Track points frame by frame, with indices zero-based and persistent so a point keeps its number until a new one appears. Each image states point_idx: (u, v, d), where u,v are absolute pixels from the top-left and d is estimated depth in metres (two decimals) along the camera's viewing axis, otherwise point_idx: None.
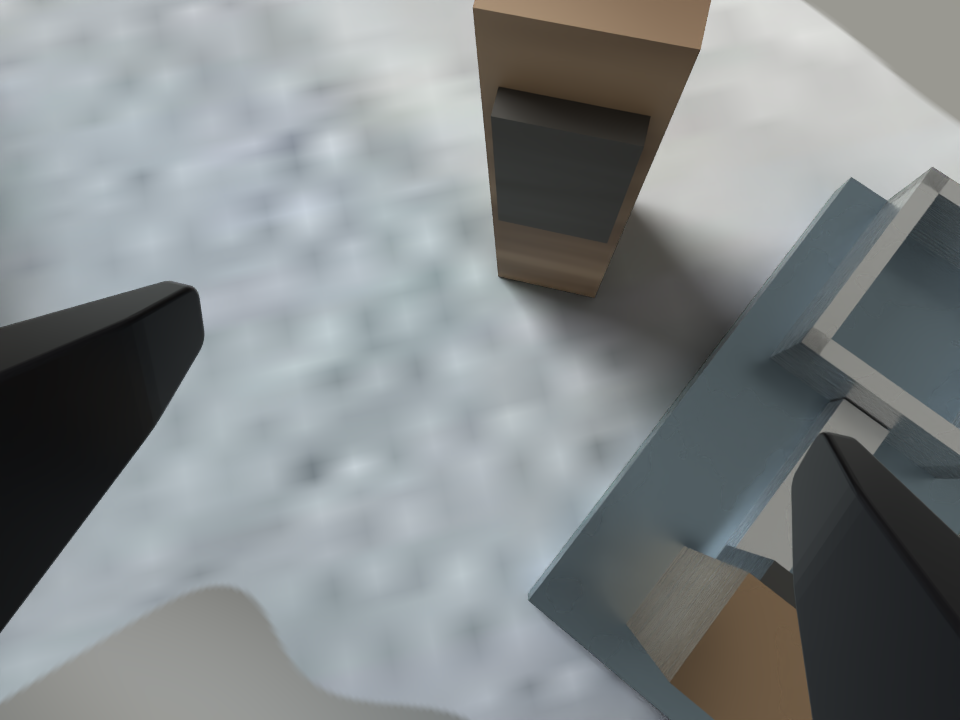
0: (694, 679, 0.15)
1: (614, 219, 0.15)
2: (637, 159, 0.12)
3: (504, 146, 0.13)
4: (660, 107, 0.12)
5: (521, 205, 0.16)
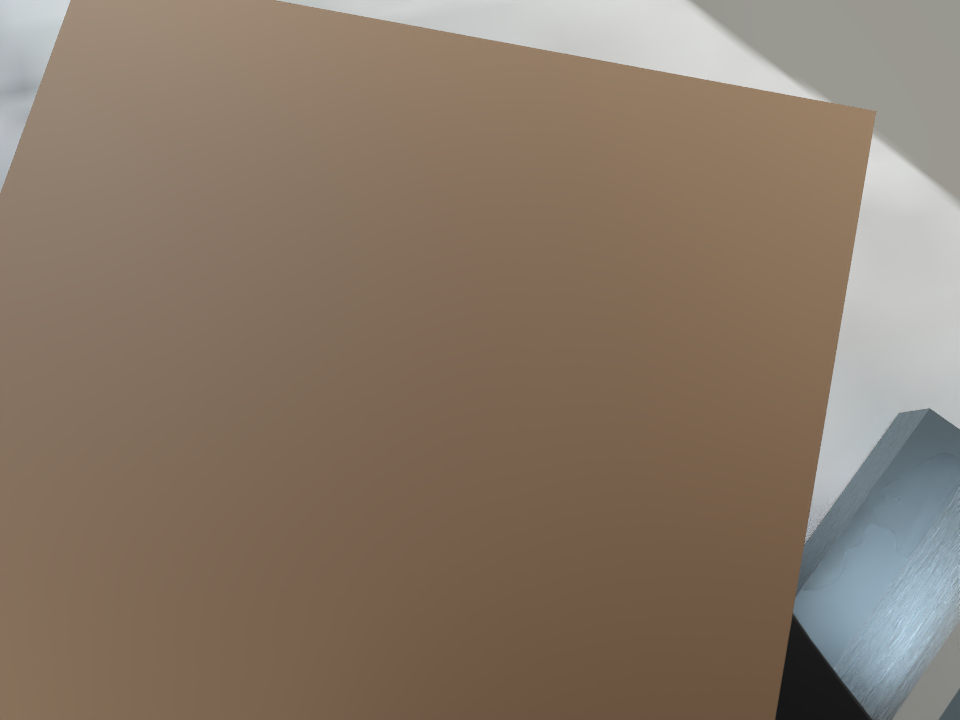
0: None
1: None
2: None
3: None
4: None
5: None
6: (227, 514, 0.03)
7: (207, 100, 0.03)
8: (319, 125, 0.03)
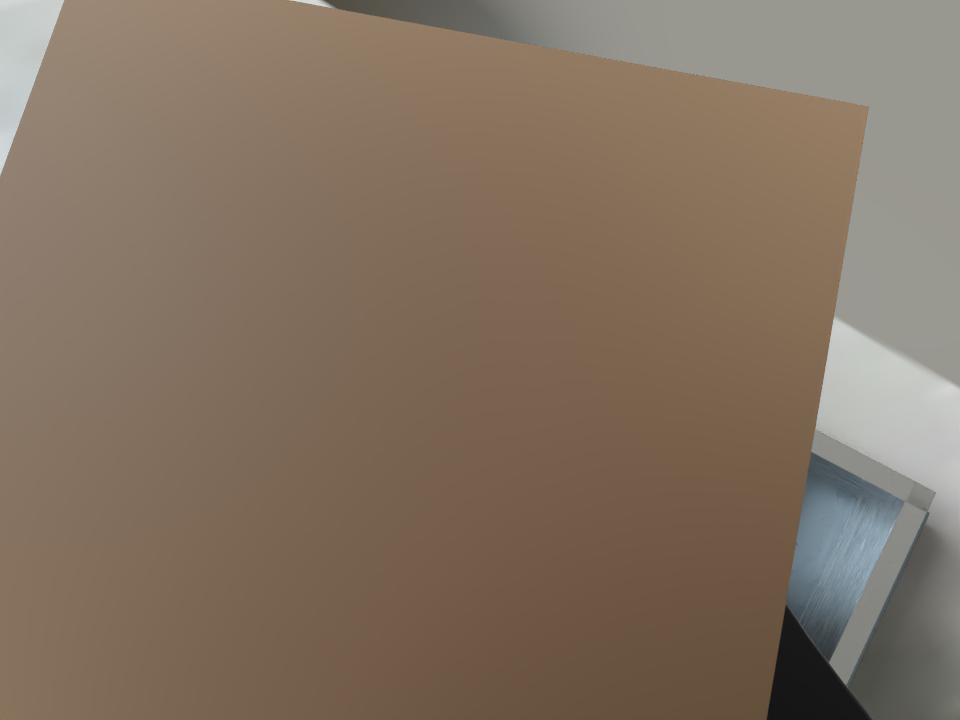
0: None
1: None
2: None
3: None
4: None
5: None
6: (219, 509, 0.03)
7: (201, 96, 0.03)
8: (313, 121, 0.03)
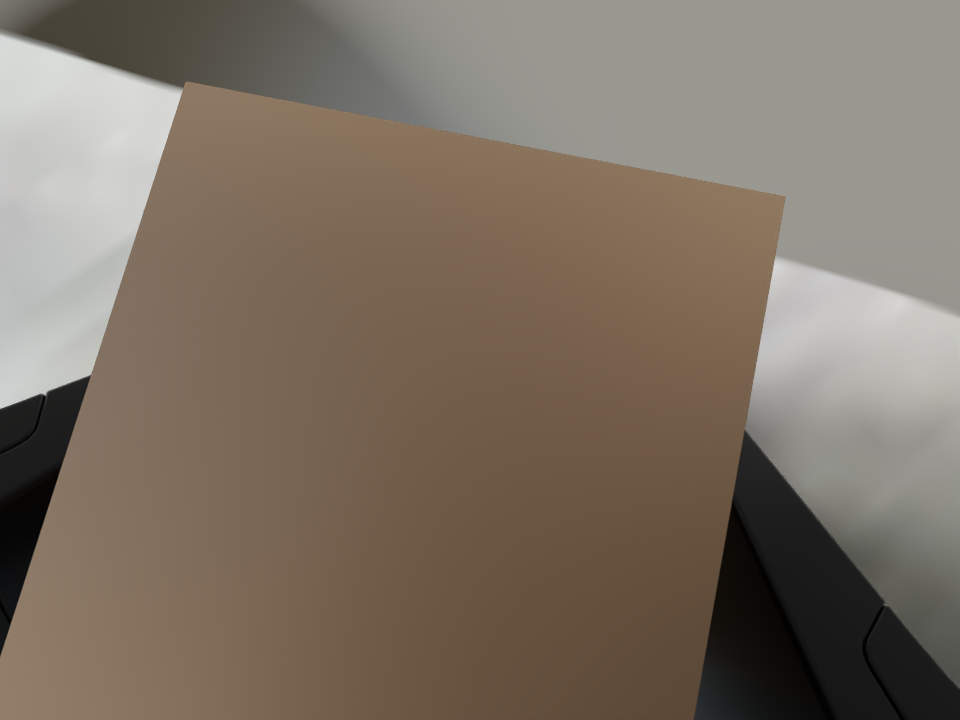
0: None
1: None
2: None
3: None
4: None
5: None
6: (307, 500, 0.04)
7: (284, 187, 0.04)
8: (370, 207, 0.04)
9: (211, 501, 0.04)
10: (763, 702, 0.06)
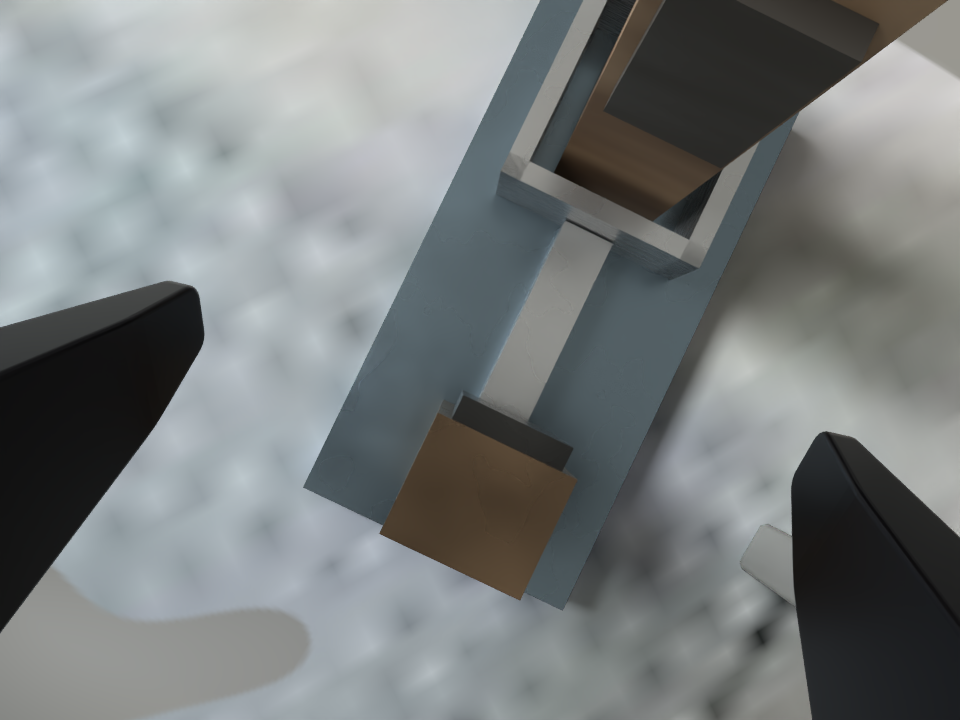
0: (402, 524, 0.15)
1: (751, 143, 0.13)
2: (839, 77, 0.10)
3: (672, 19, 0.10)
4: (900, 14, 0.09)
5: (644, 100, 0.13)
6: None
7: None
8: None
9: None
10: None
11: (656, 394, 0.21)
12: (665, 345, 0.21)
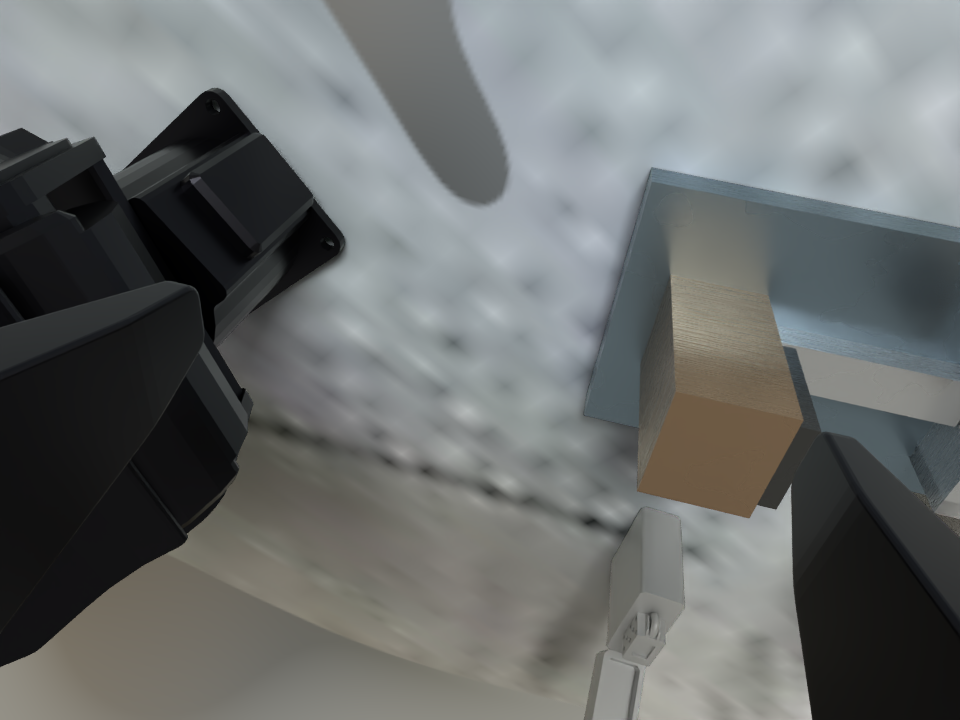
0: (687, 407, 0.16)
1: None
2: None
3: None
4: None
5: None
6: None
7: None
8: None
9: None
10: None
11: None
12: None
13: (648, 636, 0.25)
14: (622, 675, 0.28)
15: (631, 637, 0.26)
